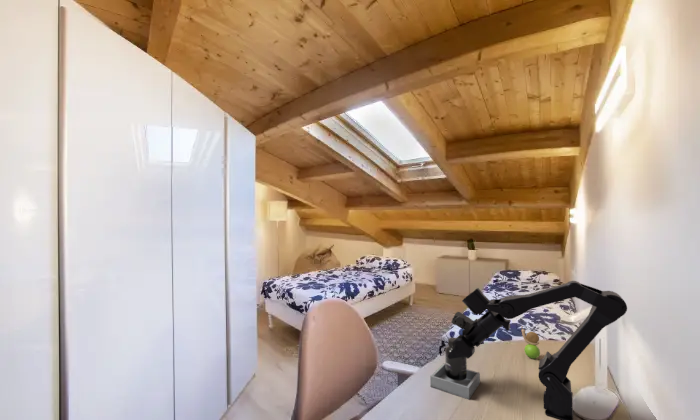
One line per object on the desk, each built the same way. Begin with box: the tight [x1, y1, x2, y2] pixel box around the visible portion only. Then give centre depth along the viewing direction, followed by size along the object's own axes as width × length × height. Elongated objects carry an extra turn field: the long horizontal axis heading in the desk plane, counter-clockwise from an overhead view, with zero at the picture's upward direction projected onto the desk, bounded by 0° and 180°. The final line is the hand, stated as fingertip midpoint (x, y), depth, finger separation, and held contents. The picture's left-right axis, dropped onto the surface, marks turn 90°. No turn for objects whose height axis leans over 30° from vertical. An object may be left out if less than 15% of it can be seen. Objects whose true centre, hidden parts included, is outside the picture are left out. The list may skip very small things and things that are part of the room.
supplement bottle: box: [444, 337, 468, 381], centre depth 107 cm, size 7×7×12 cm
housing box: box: [430, 362, 481, 400], centre depth 106 cm, size 12×12×4 cm
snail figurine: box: [521, 325, 541, 360], centre depth 128 cm, size 5×6×12 cm
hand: (451, 353), depth 107 cm, fingers closed on supplement bottle, 7 cm apart
